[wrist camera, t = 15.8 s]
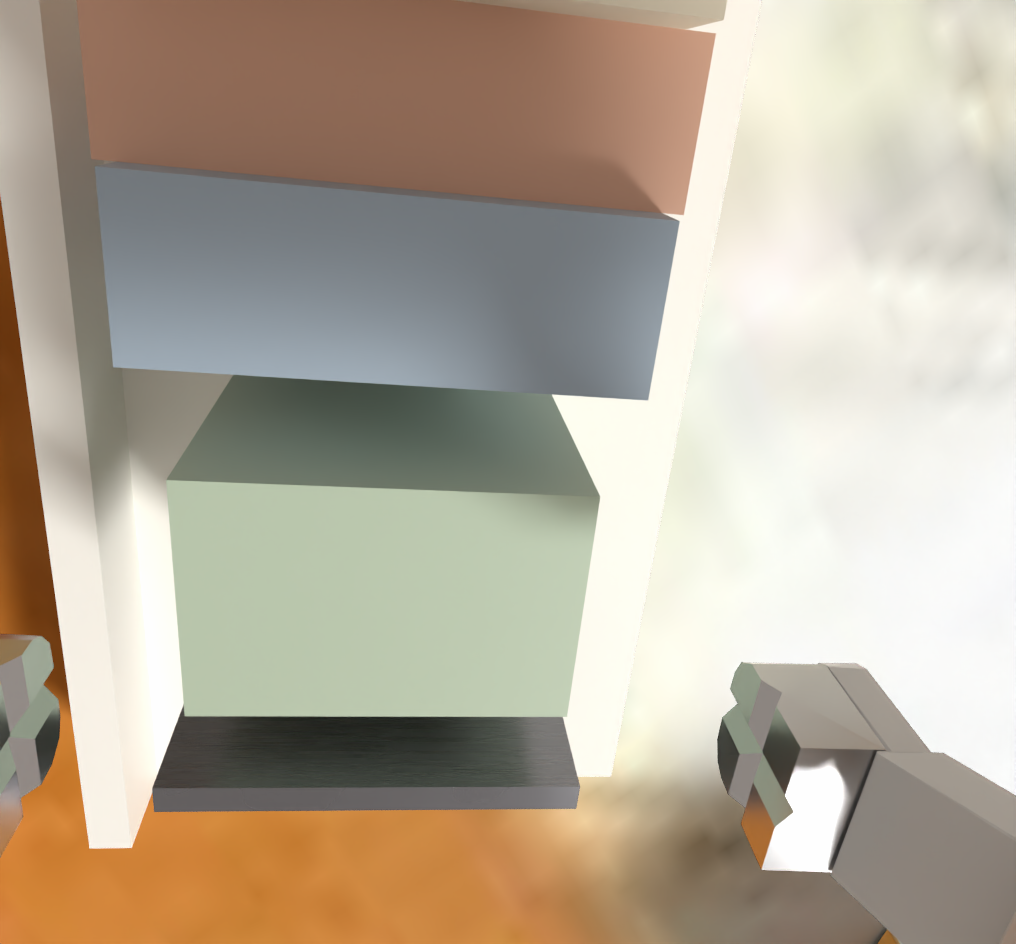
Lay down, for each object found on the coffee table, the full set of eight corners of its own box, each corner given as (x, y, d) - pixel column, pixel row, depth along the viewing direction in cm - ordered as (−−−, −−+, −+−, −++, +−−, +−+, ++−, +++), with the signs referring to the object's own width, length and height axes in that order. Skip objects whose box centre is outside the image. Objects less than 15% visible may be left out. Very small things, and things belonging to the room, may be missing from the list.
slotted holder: (756, -76, 17) (1120, -259, 8) (602, 748, 26) (702, 1084, 17) (38, -181, 15) (-469, -563, 7) (132, 747, 24) (-29, 1125, 15)
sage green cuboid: (528, 346, 19) (600, 496, 12) (512, 501, 21) (567, 716, 14) (261, 330, 18) (165, 480, 11) (266, 492, 20) (185, 716, 13)
